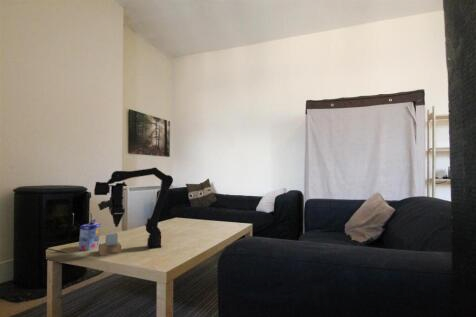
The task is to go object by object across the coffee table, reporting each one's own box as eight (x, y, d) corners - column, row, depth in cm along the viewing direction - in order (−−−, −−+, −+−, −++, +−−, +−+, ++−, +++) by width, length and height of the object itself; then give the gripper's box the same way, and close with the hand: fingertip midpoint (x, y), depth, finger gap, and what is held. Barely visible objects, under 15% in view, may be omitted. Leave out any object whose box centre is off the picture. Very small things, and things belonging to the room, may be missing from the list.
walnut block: (117, 249, 134) (118, 241, 134) (120, 253, 126) (121, 245, 126) (98, 252, 129) (98, 243, 129) (100, 256, 121) (100, 248, 121)
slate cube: (116, 242, 132) (116, 232, 132) (117, 244, 127) (117, 234, 128) (105, 243, 129) (105, 233, 130) (105, 246, 125) (106, 235, 125)
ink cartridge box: (88, 250, 130) (90, 221, 131) (77, 250, 130) (79, 221, 132) (99, 245, 140) (101, 218, 141) (89, 245, 140) (91, 218, 141)
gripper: (98, 194, 138) (97, 223, 136) (99, 196, 122) (98, 230, 120) (121, 193, 143) (120, 222, 142) (125, 195, 127) (124, 227, 126)
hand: (115, 225), depth 132 cm, fingers open, 9 cm apart
